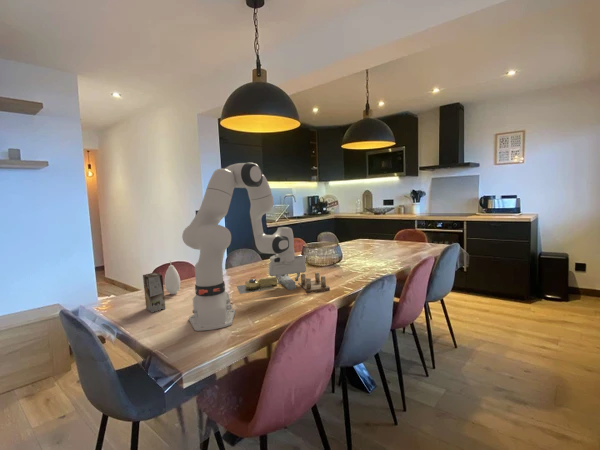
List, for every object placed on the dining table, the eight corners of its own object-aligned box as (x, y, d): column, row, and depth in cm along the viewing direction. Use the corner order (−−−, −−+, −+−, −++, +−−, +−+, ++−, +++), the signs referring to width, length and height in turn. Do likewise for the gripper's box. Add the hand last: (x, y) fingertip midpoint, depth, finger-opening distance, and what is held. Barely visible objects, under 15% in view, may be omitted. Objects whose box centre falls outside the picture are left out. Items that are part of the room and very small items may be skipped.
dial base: (274, 290, 168) (274, 288, 168) (239, 295, 163) (239, 293, 163) (268, 283, 183) (268, 281, 183) (236, 287, 178) (236, 285, 178)
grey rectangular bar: (297, 290, 166) (296, 280, 166) (286, 292, 165) (286, 282, 164) (287, 281, 186) (286, 272, 186) (277, 282, 185) (277, 273, 184)
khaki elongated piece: (246, 290, 168) (246, 282, 168) (244, 286, 176) (244, 279, 175) (278, 285, 173) (278, 278, 172) (275, 282, 180) (274, 275, 180)
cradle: (329, 290, 164) (329, 277, 163) (307, 293, 161) (306, 280, 160) (319, 282, 179) (318, 271, 179) (298, 285, 176) (297, 273, 175)
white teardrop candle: (166, 292, 176) (163, 260, 174) (181, 291, 178) (178, 258, 176) (164, 297, 168) (161, 262, 166) (180, 294, 170) (177, 261, 169)
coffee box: (166, 308, 149) (162, 274, 147) (151, 312, 145) (148, 277, 143) (159, 304, 156) (156, 272, 154) (145, 308, 151) (142, 274, 150)
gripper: (303, 253, 178) (304, 278, 179) (266, 257, 172) (268, 283, 173) (306, 255, 172) (308, 281, 173) (269, 260, 166) (271, 286, 167)
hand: (288, 282), depth 173 cm, fingers open, 8 cm apart
